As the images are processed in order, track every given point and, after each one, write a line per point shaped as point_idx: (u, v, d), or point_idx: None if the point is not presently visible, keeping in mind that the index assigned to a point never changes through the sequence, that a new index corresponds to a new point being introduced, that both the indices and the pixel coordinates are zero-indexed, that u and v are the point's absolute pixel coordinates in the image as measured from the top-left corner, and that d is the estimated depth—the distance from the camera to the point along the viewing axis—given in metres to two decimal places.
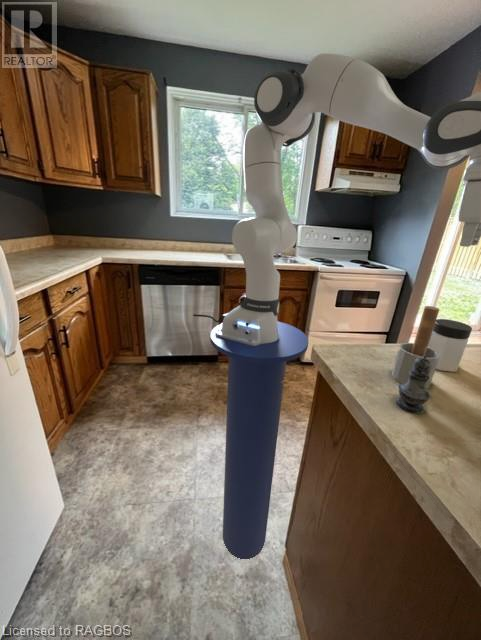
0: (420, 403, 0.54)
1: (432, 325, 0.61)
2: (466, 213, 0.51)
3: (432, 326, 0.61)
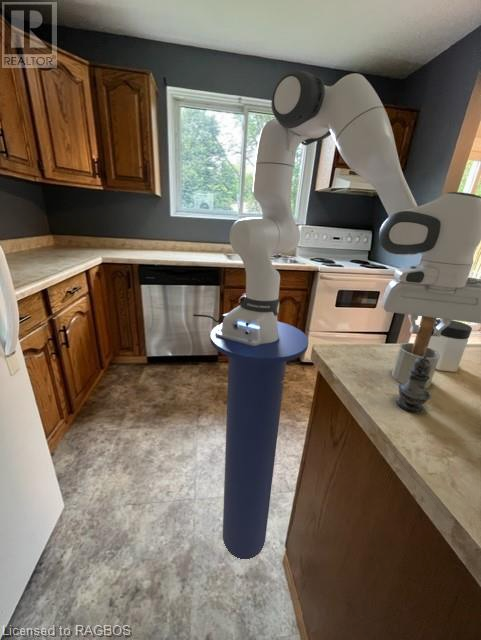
0: (420, 403, 0.54)
1: (432, 325, 0.61)
2: (382, 302, 0.64)
3: (432, 326, 0.61)
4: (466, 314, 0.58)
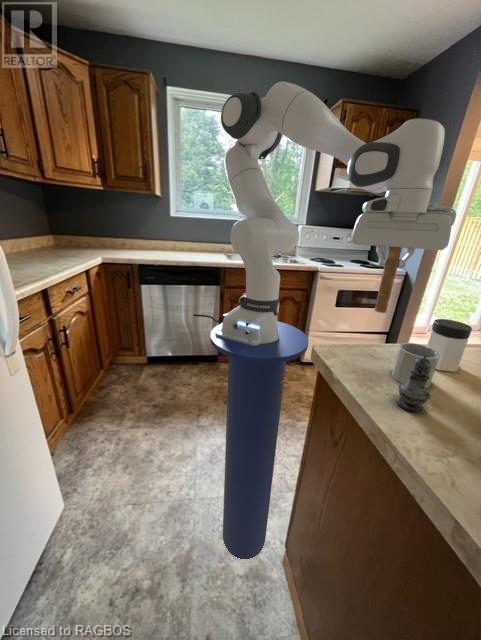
0: (420, 403, 0.54)
1: (397, 255, 0.64)
2: (351, 237, 0.67)
3: (398, 256, 0.64)
4: (428, 241, 0.61)
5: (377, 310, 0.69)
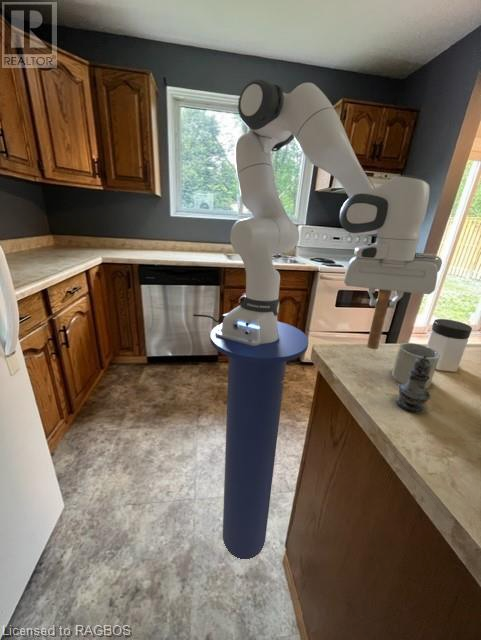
0: (420, 403, 0.54)
1: (387, 297, 0.67)
2: (344, 278, 0.71)
3: (388, 298, 0.67)
4: (415, 286, 0.64)
5: (369, 346, 0.73)
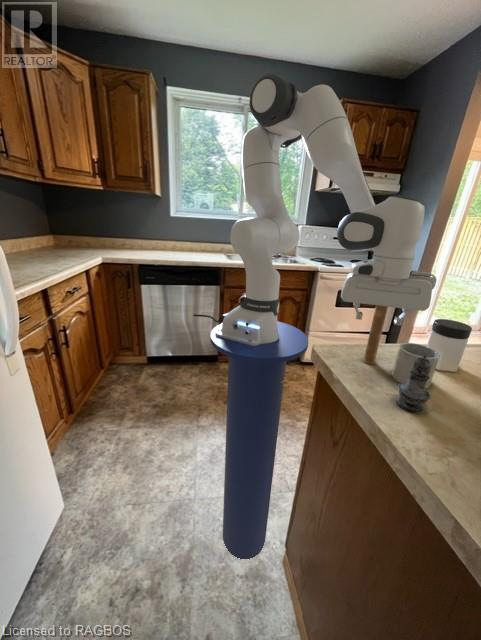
0: (420, 403, 0.54)
1: (384, 314, 0.69)
2: (341, 293, 0.72)
3: (384, 315, 0.69)
4: (410, 303, 0.66)
5: (366, 361, 0.74)
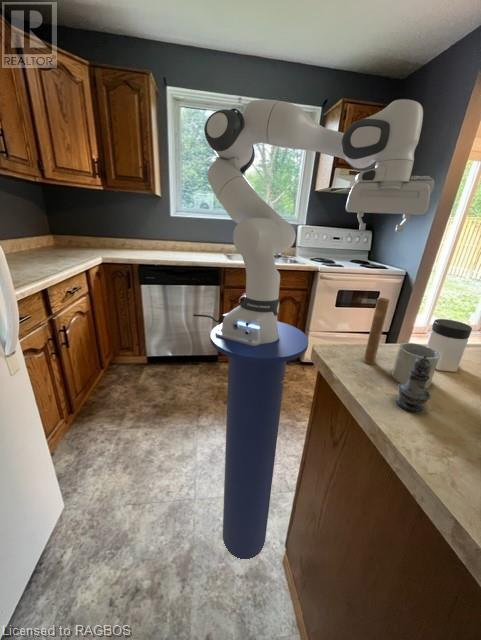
0: (420, 403, 0.54)
1: (384, 314, 0.69)
2: None
3: (384, 315, 0.69)
4: (410, 206, 0.71)
5: (366, 361, 0.74)
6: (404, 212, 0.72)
